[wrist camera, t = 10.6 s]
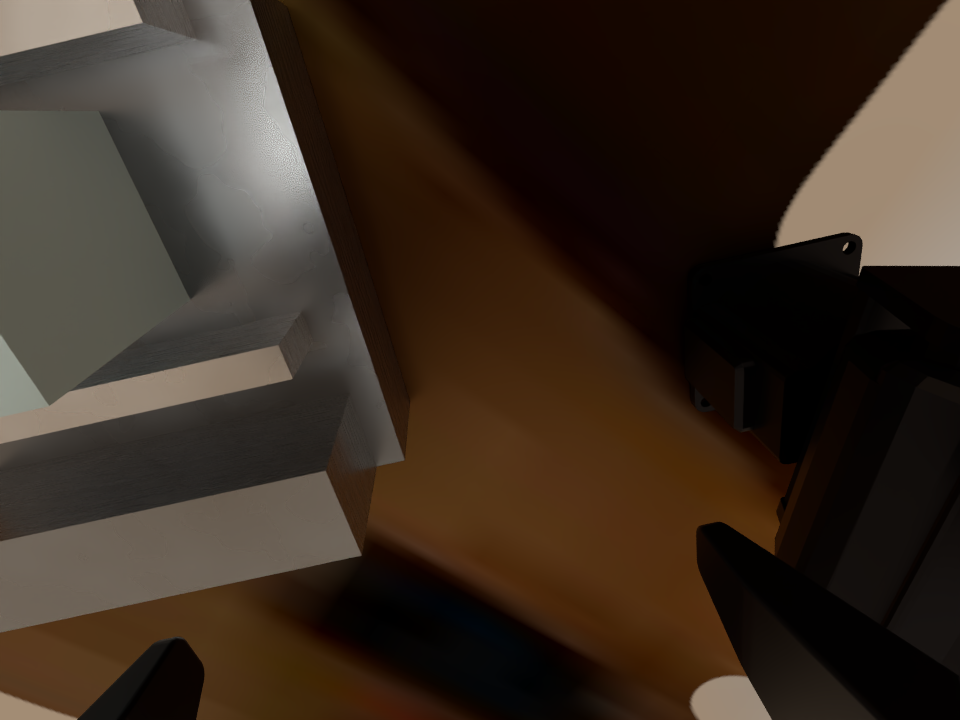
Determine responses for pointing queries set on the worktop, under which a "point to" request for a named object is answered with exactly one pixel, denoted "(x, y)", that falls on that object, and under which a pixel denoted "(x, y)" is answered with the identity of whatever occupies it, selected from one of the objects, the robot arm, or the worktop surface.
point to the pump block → (71, 256)
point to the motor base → (201, 322)
